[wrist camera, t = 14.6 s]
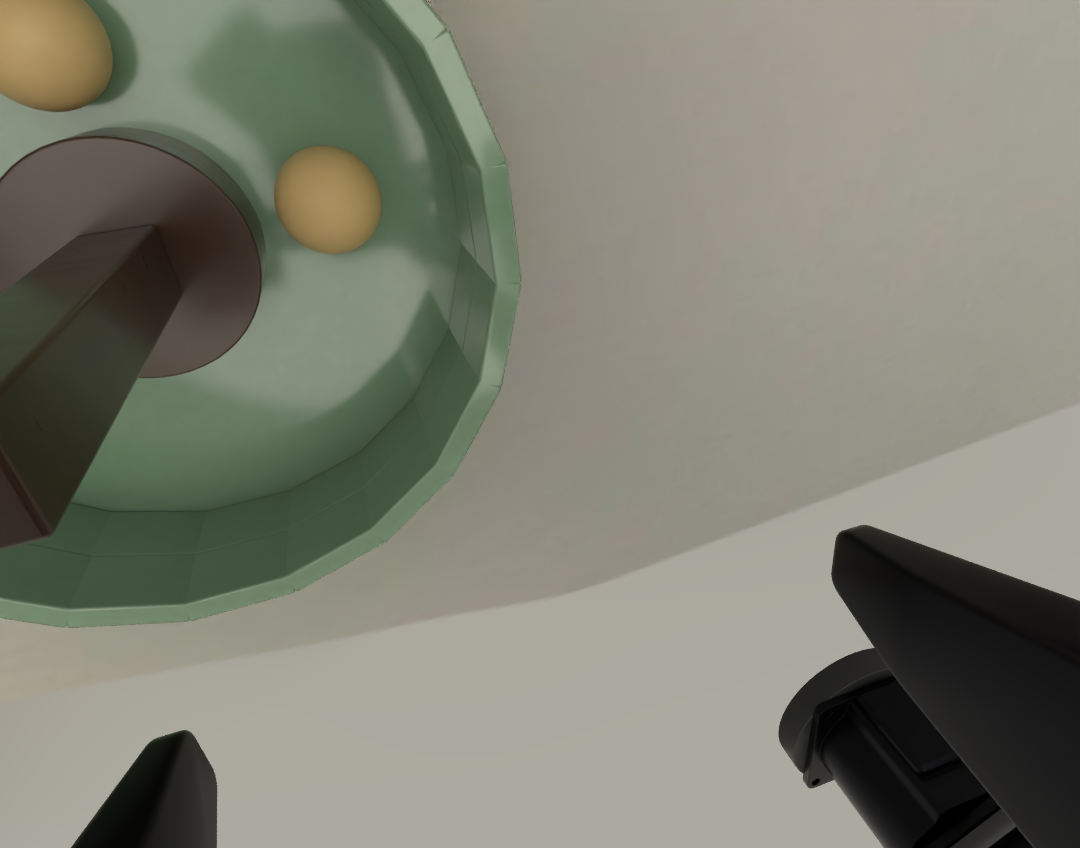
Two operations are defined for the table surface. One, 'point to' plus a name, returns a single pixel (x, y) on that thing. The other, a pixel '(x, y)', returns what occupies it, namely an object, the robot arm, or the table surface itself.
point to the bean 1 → (53, 54)
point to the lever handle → (108, 298)
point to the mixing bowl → (289, 312)
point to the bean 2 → (327, 199)
